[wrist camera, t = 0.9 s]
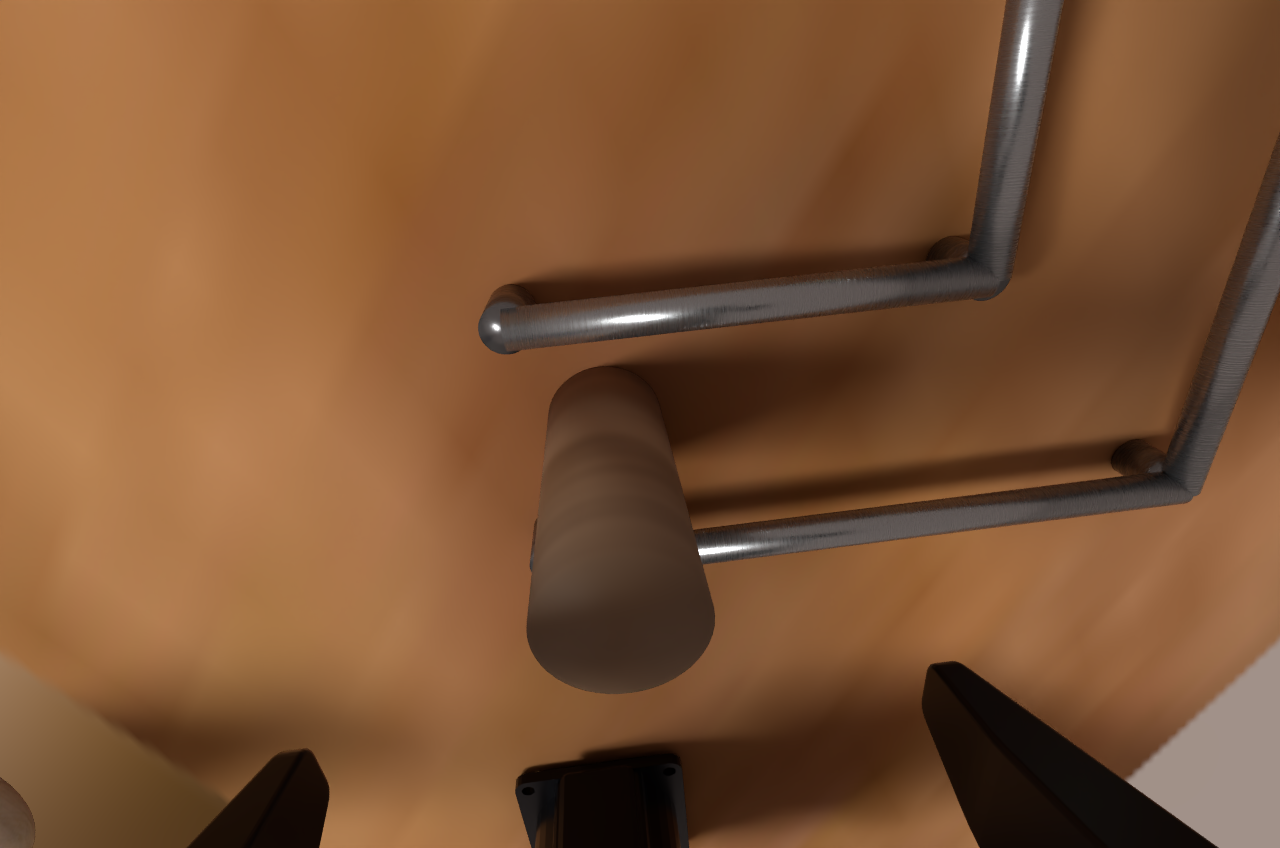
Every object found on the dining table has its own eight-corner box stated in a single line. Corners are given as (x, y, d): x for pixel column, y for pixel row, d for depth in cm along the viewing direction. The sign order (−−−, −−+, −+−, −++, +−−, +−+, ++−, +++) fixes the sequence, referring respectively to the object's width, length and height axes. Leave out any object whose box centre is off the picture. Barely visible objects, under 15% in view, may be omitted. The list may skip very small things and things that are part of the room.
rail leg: (1143, 469, 20) (1206, 511, 18) (537, 545, 19) (532, 596, 17) (1231, 206, 16) (1324, 219, 14) (484, 287, 16) (469, 313, 14)
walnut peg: (664, 460, 18) (717, 681, 11) (557, 473, 18) (543, 704, 11) (656, 360, 17) (711, 541, 10) (540, 373, 17) (510, 567, 10)
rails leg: (1148, 453, 20) (1213, 493, 18) (898, 484, 20) (934, 528, 17) (1402, -307, 12) (1573, -394, 10) (991, -275, 12) (1078, -357, 10)
